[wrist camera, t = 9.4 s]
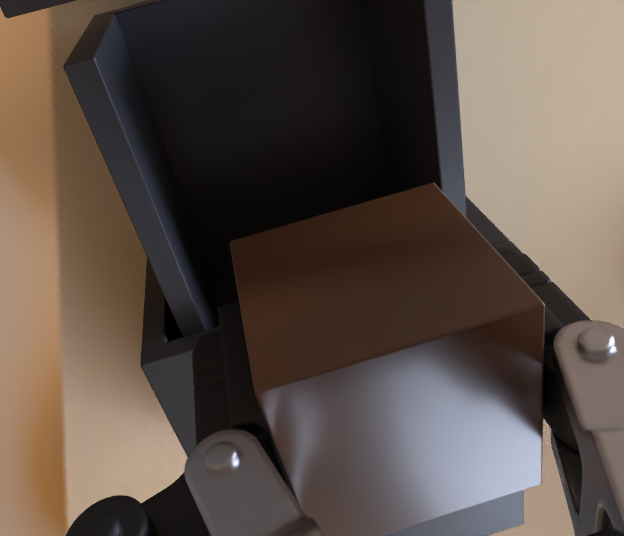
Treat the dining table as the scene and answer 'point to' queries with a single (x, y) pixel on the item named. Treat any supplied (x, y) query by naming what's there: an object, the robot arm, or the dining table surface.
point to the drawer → (261, 120)
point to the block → (393, 362)
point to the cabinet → (181, 411)
